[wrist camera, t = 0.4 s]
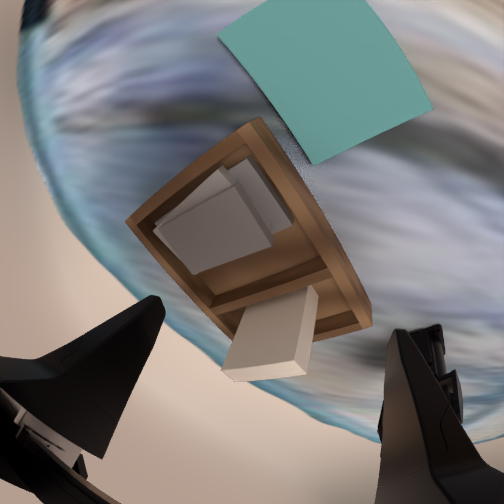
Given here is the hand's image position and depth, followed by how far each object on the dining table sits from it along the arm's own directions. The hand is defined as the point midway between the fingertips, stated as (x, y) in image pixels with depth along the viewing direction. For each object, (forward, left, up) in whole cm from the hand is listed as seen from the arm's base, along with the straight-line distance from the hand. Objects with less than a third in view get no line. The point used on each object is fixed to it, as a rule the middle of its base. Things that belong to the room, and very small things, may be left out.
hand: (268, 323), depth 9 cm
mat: (+7, -6, -14) cm, 17 cm away
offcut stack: (+1, +8, -13) cm, 15 cm away
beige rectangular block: (-9, +8, -13) cm, 17 cm away
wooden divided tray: (-4, +8, -14) cm, 16 cm away
